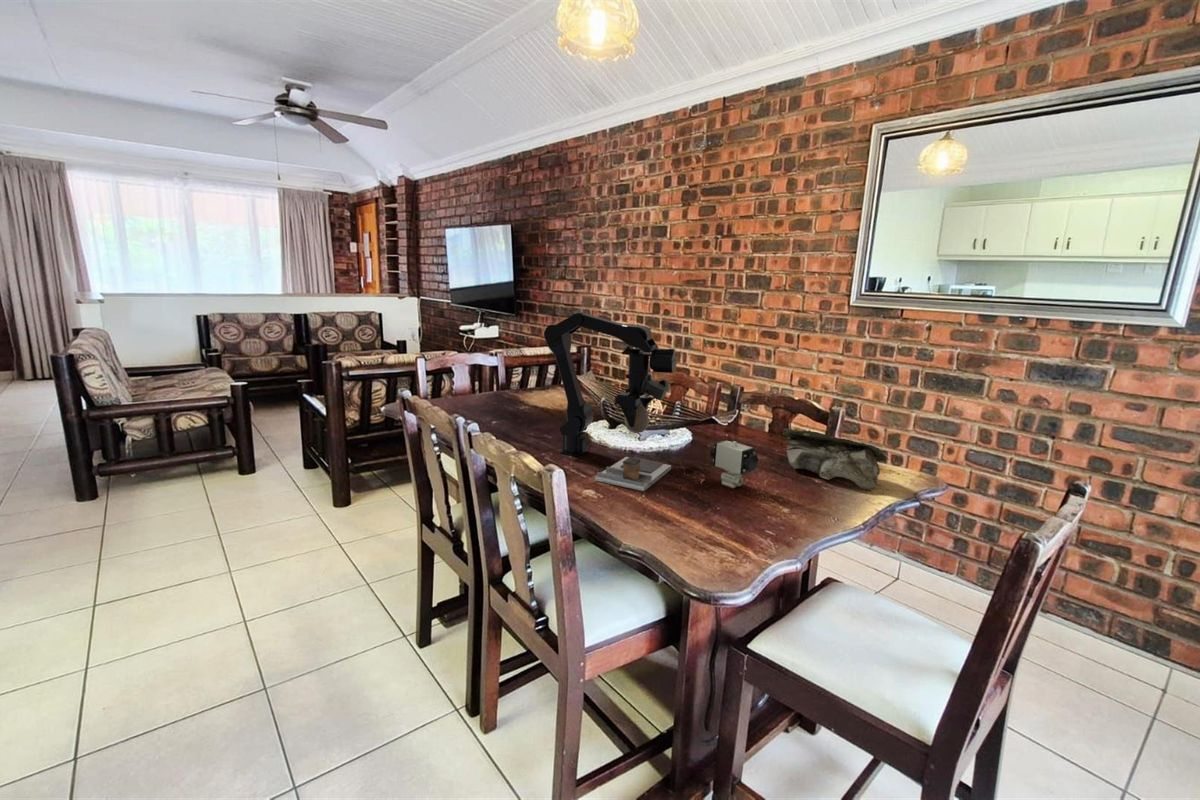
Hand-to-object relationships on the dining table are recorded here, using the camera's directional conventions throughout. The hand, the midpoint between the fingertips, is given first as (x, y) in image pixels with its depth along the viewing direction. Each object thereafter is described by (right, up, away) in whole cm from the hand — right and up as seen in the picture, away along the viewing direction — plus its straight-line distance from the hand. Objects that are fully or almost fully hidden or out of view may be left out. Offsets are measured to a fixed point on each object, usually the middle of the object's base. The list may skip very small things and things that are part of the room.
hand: (636, 424), depth 156 cm
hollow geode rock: (+53, -14, -5) cm, 55 cm away
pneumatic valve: (+24, -16, -14) cm, 32 cm away
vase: (0, -2, +1) cm, 2 cm away
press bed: (-1, -13, -9) cm, 16 cm away
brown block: (-2, -13, -16) cm, 21 cm away
